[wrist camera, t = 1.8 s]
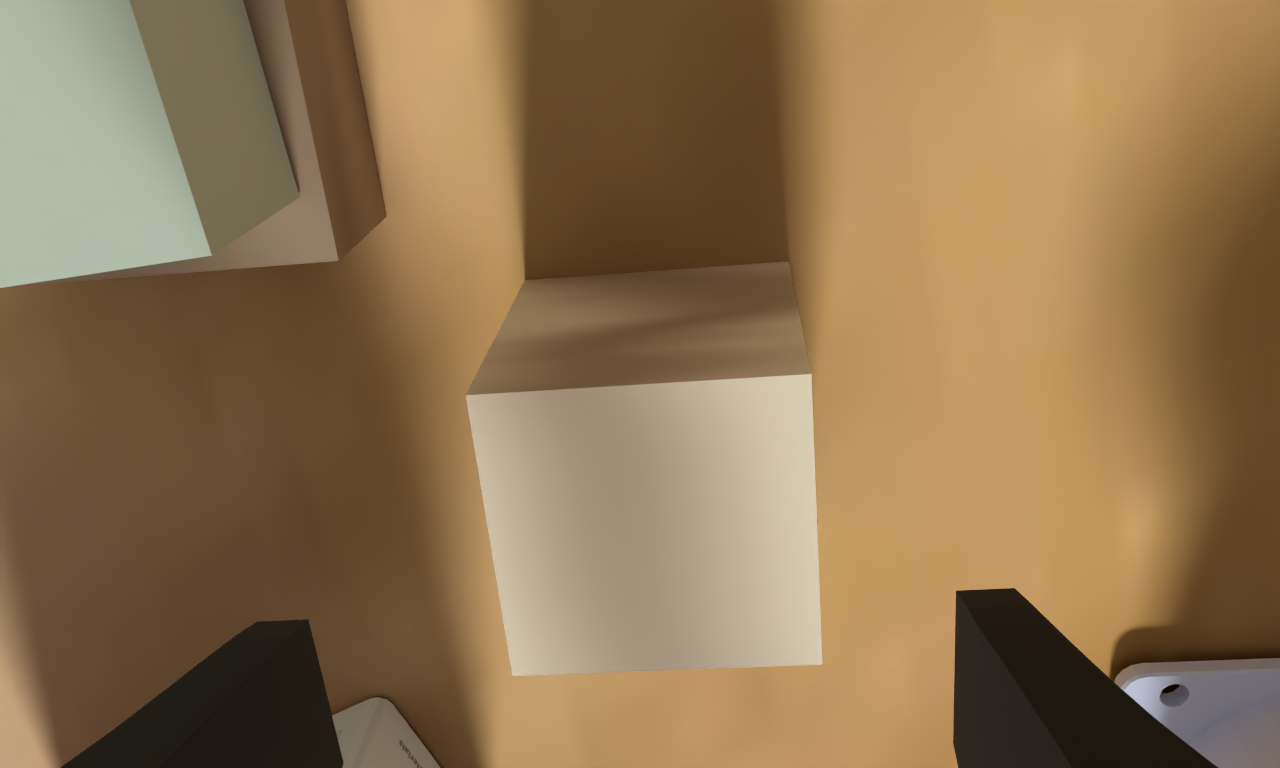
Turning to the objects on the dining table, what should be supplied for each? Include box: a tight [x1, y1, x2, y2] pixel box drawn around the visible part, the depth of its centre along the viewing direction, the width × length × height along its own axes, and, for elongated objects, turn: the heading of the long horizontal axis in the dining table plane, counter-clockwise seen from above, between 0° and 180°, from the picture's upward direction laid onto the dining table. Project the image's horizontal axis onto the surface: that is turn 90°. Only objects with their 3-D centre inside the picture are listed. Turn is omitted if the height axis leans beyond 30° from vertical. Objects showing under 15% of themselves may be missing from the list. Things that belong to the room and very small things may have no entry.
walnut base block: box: [4, 0, 386, 288], centre depth 17 cm, size 7×7×3 cm
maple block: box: [466, 261, 822, 676], centre depth 18 cm, size 4×4×5 cm
